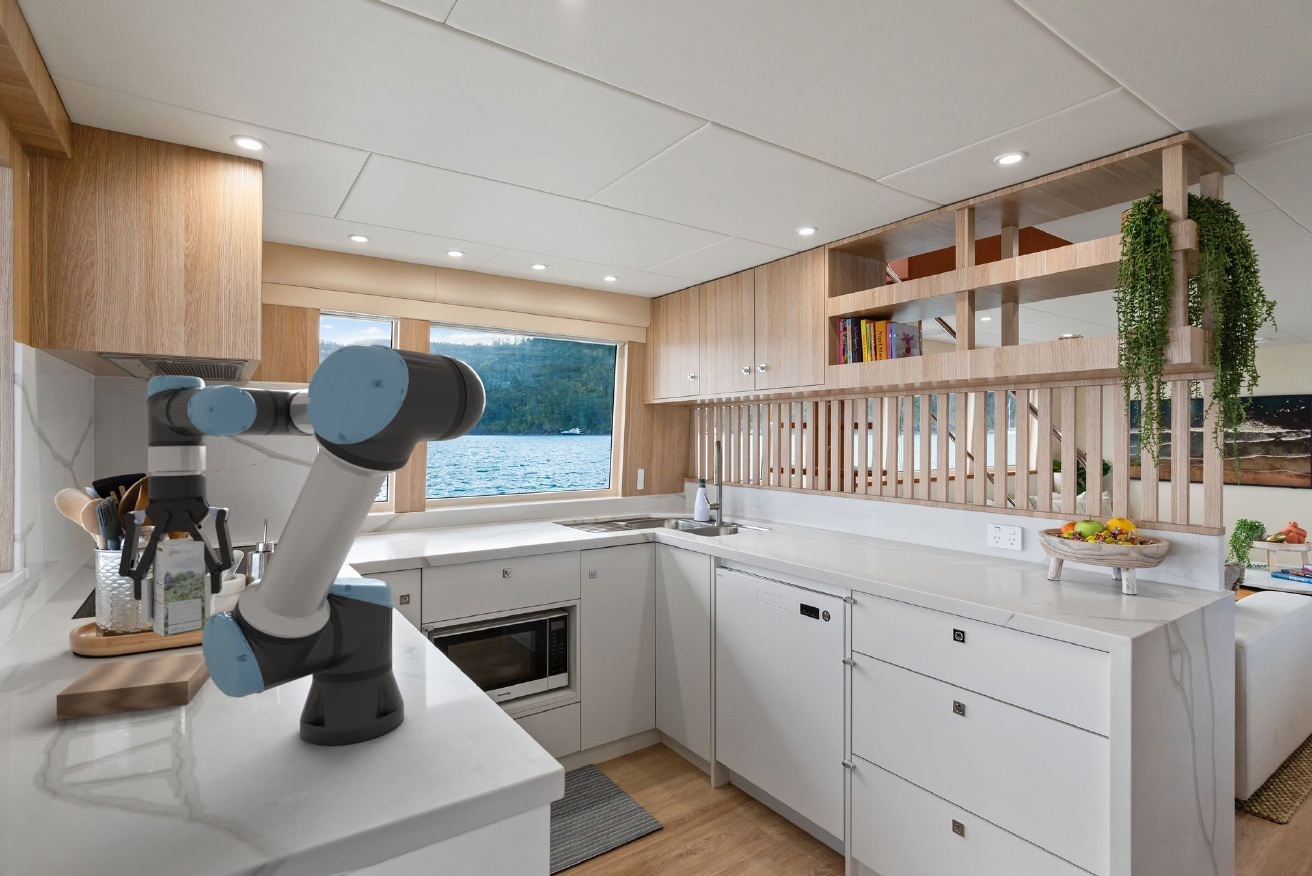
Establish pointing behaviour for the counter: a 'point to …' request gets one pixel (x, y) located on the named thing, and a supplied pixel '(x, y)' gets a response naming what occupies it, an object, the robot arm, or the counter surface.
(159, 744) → the counter surface
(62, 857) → the counter surface
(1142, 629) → the counter surface
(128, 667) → the block
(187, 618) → the syrup box
